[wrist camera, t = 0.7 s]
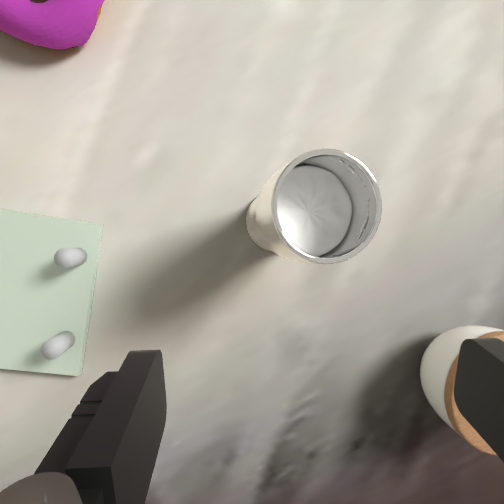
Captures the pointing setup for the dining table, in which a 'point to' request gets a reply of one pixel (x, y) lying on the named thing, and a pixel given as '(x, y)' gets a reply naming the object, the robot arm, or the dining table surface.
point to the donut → (50, 21)
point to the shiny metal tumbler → (317, 208)
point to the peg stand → (46, 291)
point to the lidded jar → (451, 378)
